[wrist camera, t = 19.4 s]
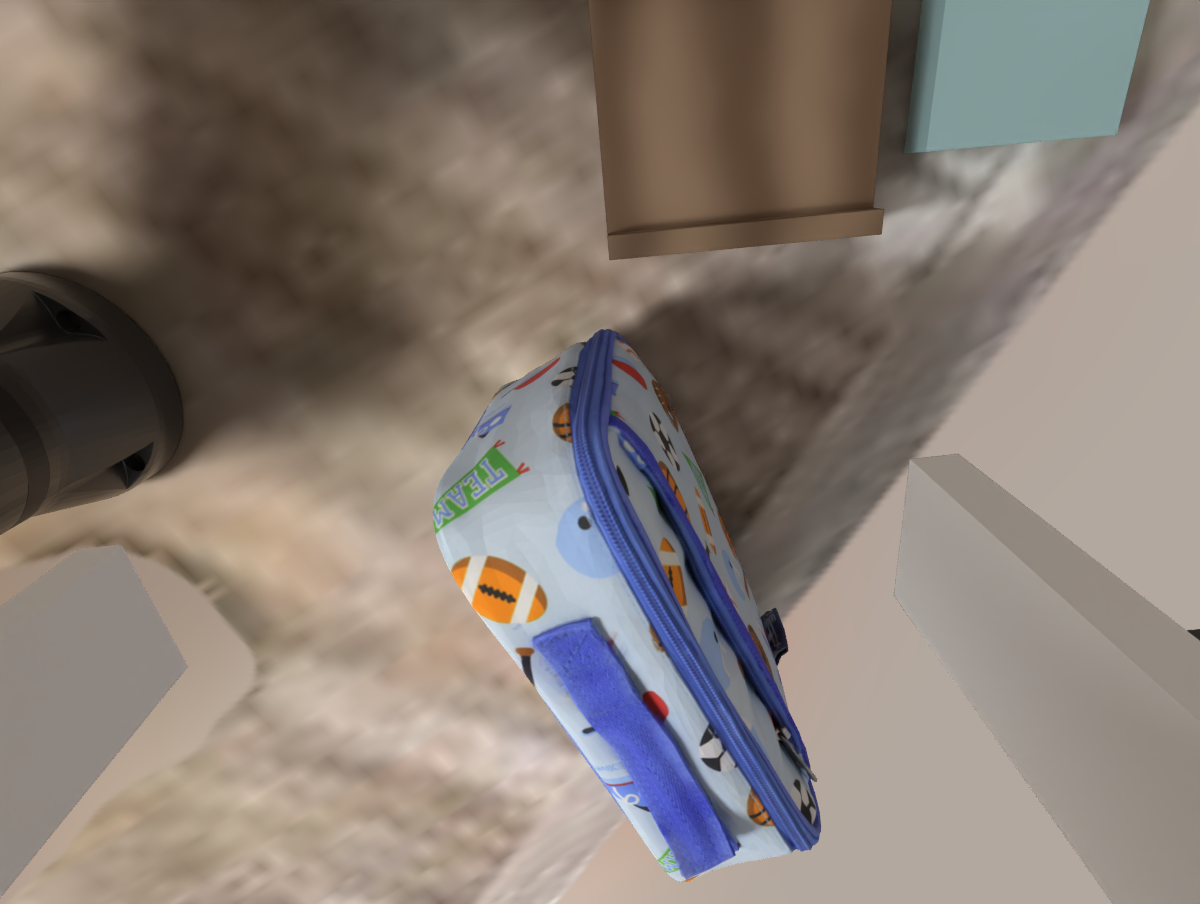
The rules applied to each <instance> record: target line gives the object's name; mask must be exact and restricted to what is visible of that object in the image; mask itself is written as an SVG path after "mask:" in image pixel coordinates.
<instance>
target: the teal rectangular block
mask: <svg viewBox="0 0 1200 904" xmlns="http://www.w3.org/2000/svg"><path fill="white" fill-rule="evenodd" d="M1149 2H1150V0H922V5H921V14H920V22H919V31H918V39H917V48H916V56H915V65H914V73H913V82H912V90H911V99H910V107H909V116H908V124H907V133H906V141H905V150H904V153H918V152H930V151H942V150H953V149H964V148H975V147H986V146H997V145H1008V144H1019V143H1030V142H1042V141H1053V140H1064V139H1075V138H1086V137H1097V136H1108V135H1117V131H1118V127H1119V123H1120V119H1121V115H1122V111H1123V107H1124V103H1125V99H1126V95H1127V91H1128V87H1129V83H1130V79H1131V75H1132V71H1133V67H1134V63H1135V59H1136V55H1137V51H1138V47H1139V43H1140V38H1141V34H1142V30H1143V26H1144V22H1145V18H1146V14H1147V10H1148V6H1149Z"/></svg>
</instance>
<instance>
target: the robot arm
mask: <svg viewBox="0 0 1200 904" xmlns="http://www.w3.org/2000/svg"><path fill="white" fill-rule="evenodd" d="M181 430H182V407H181V401H180V396H179V392H178V389H177V386H176V383H175V380H174V378H173V376H172V373H171V371H170V369H169V367H168V365H167V364H166V362H165V360H164V358H163V357H162V355H161V354H160V352H159V351H158V349H157V348H156V346H155V345H154V344H153V343H152V341H151V340H150V339H149V338H148V336H147V335H146V334H145V333H144V332H143V331H142V330H141V329H140V328H139V327H138V326H137V325H136V324H135V323H134V322H133V321H132V320H131V319H130V318H129V317H128V316H127V315H125V314H124V313H123V312H122V311H121V310H119V309H118V308H117V307H115V306H114V305H113V304H111V303H110V302H108V301H107V300H105V299H104V298H102V297H101V296H99V295H97V294H95V293H94V292H92V291H90V290H88V289H86V288H84V287H82V286H79V285H77V284H75V283H72V282H70V281H67V280H64V279H61V278H58V277H54V276H50V275H46V274H40V273H33V272H7V273H0V535H2V534H3V533H5V532H6V531H8V530H10V529H11V528H13V527H15V526H16V525H18V524H20V523H21V522H23V521H25V520H27V519H28V518H30V517H33V516H37V515H42V514H46V513H50V512H54V511H58V510H63V509H67V508H71V507H75V506H79V505H84V504H88V503H92V502H96V501H101V500H105V499H109V498H112V497H115V496H118V495H120V494H122V493H125V492H127V491H129V490H131V489H133V488H134V487H136V486H137V485H139V484H140V483H142V482H144V481H145V480H147V479H148V478H150V477H151V476H153V475H154V474H156V473H157V472H158V471H160V470H161V469H162V468H163V467H164V466H165V465H166V464H167V463H168V461H169V460H170V459H171V457H172V456H173V454H174V452H175V450H176V448H177V446H178V443H179V440H180V436H181ZM894 597H895V598H896V600H897V601H898V602H899V604H900V605H901V607H902V608H903V610H904V611H905V612H906V614H907V615H908V617H909V618H910V619H911V621H912V622H913V624H914V625H915V626H916V628H917V629H918V631H919V632H920V633H921V635H922V636H923V637H924V639H925V641H926V642H927V643H928V645H929V646H930V647H931V649H932V650H933V652H934V653H935V655H936V656H937V657H938V658H939V660H940V662H941V663H942V664H943V666H944V667H945V669H946V670H947V671H948V673H949V674H950V676H951V677H952V679H953V680H954V681H955V683H956V684H957V686H958V687H959V688H960V690H961V691H962V693H963V694H964V695H965V697H966V698H967V700H968V701H969V702H970V704H971V705H972V707H973V708H974V710H975V711H976V712H977V714H978V715H979V717H980V718H981V719H982V721H983V722H984V724H985V725H986V726H987V728H988V729H989V731H990V732H991V733H992V735H993V736H994V738H995V739H996V741H997V742H998V743H999V745H1000V746H1001V748H1002V749H1003V750H1004V752H1005V753H1006V755H1007V756H1008V757H1009V759H1010V760H1011V762H1012V763H1013V764H1014V766H1015V767H1016V769H1017V770H1018V772H1019V773H1020V774H1021V776H1022V777H1023V779H1024V780H1025V781H1026V783H1027V784H1028V785H1029V787H1030V788H1031V790H1032V791H1033V793H1034V794H1035V795H1036V797H1037V798H1038V800H1039V801H1040V802H1041V804H1042V805H1043V807H1044V808H1045V810H1046V811H1047V812H1048V814H1049V815H1050V816H1051V818H1052V819H1053V821H1054V822H1055V824H1056V825H1057V826H1058V828H1059V829H1060V830H1061V832H1062V834H1063V835H1064V836H1065V838H1066V839H1067V841H1068V842H1069V843H1070V845H1071V846H1072V847H1073V849H1074V850H1075V852H1076V853H1077V855H1078V856H1079V857H1080V859H1081V860H1082V862H1083V863H1084V864H1085V866H1086V867H1087V869H1088V870H1089V871H1090V873H1091V874H1092V876H1093V877H1094V879H1095V880H1096V881H1097V883H1098V884H1099V886H1100V887H1101V888H1102V890H1103V891H1104V892H1105V894H1106V895H1107V897H1108V898H1109V900H1110V901H1111V903H1112V904H1200V629H1197V630H1185V629H1184V628H1183V627H1181V626H1180V625H1179V624H1177V623H1176V622H1175V621H1174V620H1172V619H1171V618H1170V617H1168V616H1167V615H1166V614H1164V613H1163V612H1162V611H1161V610H1159V609H1158V608H1157V607H1155V606H1154V605H1153V604H1152V603H1150V602H1149V601H1147V600H1146V599H1145V598H1144V597H1143V596H1141V595H1140V594H1139V593H1137V592H1136V591H1135V590H1133V589H1132V588H1131V587H1130V586H1128V585H1127V584H1126V583H1124V582H1123V581H1122V580H1121V579H1119V578H1118V577H1117V576H1115V575H1114V574H1113V573H1112V572H1110V571H1109V570H1108V569H1106V568H1105V567H1104V566H1102V565H1101V564H1100V563H1099V562H1097V561H1096V560H1095V559H1093V558H1092V557H1091V556H1090V555H1088V554H1087V553H1086V552H1084V551H1083V550H1082V549H1081V548H1079V547H1078V546H1077V545H1075V544H1074V543H1073V542H1072V541H1070V540H1069V539H1068V538H1066V537H1065V536H1064V535H1062V534H1061V533H1060V532H1059V531H1057V530H1056V529H1055V528H1053V527H1052V526H1051V525H1050V524H1048V523H1047V522H1046V521H1044V520H1043V519H1042V518H1041V517H1039V516H1038V515H1037V514H1035V513H1034V512H1033V511H1031V510H1030V509H1029V508H1028V507H1026V506H1025V505H1024V504H1022V503H1021V502H1020V501H1018V500H1017V499H1016V498H1014V497H1013V496H1012V495H1011V494H1009V493H1008V492H1007V491H1006V490H1004V489H1003V488H1002V487H1001V486H999V485H998V484H997V483H995V482H994V481H993V480H991V479H990V478H989V477H988V476H986V475H985V474H984V473H982V472H981V471H980V470H979V469H977V468H976V467H975V466H973V465H972V464H971V463H969V462H968V461H967V460H966V459H964V458H963V457H962V456H960V455H959V454H953V455H943V456H934V457H925V458H915V459H910V462H909V470H908V479H907V488H906V496H905V505H904V514H903V522H902V531H901V539H900V547H899V556H898V565H897V574H896V583H895V590H894ZM187 667H188V666H187V664H186V662H185V660H184V658H183V656H182V655H181V653H180V651H179V649H178V647H177V645H176V644H175V642H174V640H173V638H172V636H171V634H170V633H169V631H168V629H167V627H166V625H165V624H164V622H163V620H162V618H161V616H160V615H159V613H158V611H157V609H156V607H155V605H154V603H153V602H152V600H151V598H150V596H149V594H148V593H147V591H146V589H145V587H144V585H143V583H142V582H141V580H140V578H139V576H138V574H137V572H136V571H135V569H134V567H133V565H132V563H131V562H130V560H129V558H128V556H127V554H126V552H125V550H124V549H123V547H122V545H114V546H105V547H95V548H86V549H78V550H76V551H75V552H74V553H72V554H71V555H69V556H68V557H67V558H65V559H64V560H63V561H61V562H60V563H59V564H57V565H56V566H55V567H53V568H52V569H51V570H49V571H48V572H46V573H45V574H44V575H43V576H41V577H40V578H38V579H37V580H36V581H34V582H33V583H32V584H30V585H29V586H28V587H26V588H25V589H24V590H22V591H21V592H20V593H18V594H17V595H16V596H14V597H13V598H11V599H10V600H9V601H7V602H6V603H5V604H3V605H2V606H1V607H0V898H1V897H2V895H3V894H4V893H5V892H6V891H7V889H8V888H9V887H10V885H11V884H12V883H13V882H14V880H15V879H16V878H17V877H18V876H19V875H20V873H21V872H22V871H23V870H24V868H25V867H26V866H27V865H28V863H29V862H30V861H31V860H32V858H33V857H34V856H35V855H36V853H37V852H38V851H39V850H40V849H41V847H42V846H43V845H44V843H45V842H46V841H47V840H48V839H49V838H50V836H51V835H52V834H53V832H54V831H55V830H56V829H57V828H58V826H59V825H60V824H61V823H62V821H63V820H64V819H65V818H66V817H67V815H68V814H69V813H70V811H71V810H72V809H73V808H74V807H75V805H76V804H77V803H78V802H79V800H80V799H81V798H82V796H84V794H85V793H86V792H87V791H88V789H89V788H90V787H91V785H92V784H93V783H94V782H95V781H96V780H97V778H98V777H99V776H100V775H101V773H102V772H103V771H104V770H105V768H106V767H107V766H108V765H109V764H110V762H111V761H112V760H113V759H114V757H115V756H116V755H117V753H118V752H119V751H120V750H121V749H122V748H123V746H124V745H125V744H126V743H127V741H128V740H129V739H130V738H131V736H132V735H133V734H134V733H135V731H136V730H137V729H138V728H139V727H140V725H141V724H142V723H143V722H144V720H145V719H146V718H147V717H148V715H149V714H150V713H151V712H152V710H153V709H154V708H155V707H156V706H157V704H158V703H159V702H160V701H161V699H162V698H163V697H164V696H165V694H166V693H167V692H168V691H169V690H170V688H171V687H172V686H173V685H174V683H175V682H176V681H177V680H178V678H179V677H180V676H181V675H182V674H183V672H184V671H185V670H186V669H187Z"/></svg>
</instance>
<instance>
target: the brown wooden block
mask: <svg viewBox="0 0 1200 904" xmlns="http://www.w3.org/2000/svg"><path fill="white" fill-rule="evenodd" d="M588 4H589V16H590V28H591V40H592V52H593V64H594V76H595V88H596V100H597V112H598V124H599V136H600V149H601V161H602V173H603V185H604V197H605V209H606V221H607V233H608V235H607V237H608V249H609V260H617V259H627V258H638V257H648V256H659V255H669V254H680V253H691V252H701V251H712V250H722V249H733V248H743V247H754V246H764V245H775V244H785V243H796V242H807V241H817V240H828V239H838V238H849V237H859V236H870V235H880V234H882V226H883V216H884V209H878V208H873V204H874V193H875V182H876V171H877V160H878V149H879V138H880V127H881V116H882V105H883V95H884V84H885V73H886V62H887V51H888V40H889V29H890V18H891V7H892V0H588Z"/></svg>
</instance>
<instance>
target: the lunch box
mask: <svg viewBox="0 0 1200 904" xmlns="http://www.w3.org/2000/svg"><path fill="white" fill-rule="evenodd" d="M433 522H434V527H435V532H436V537H437V541H438V544H439V547H440V549H441V552H442V555H443V557H444V560H445V562H446V564H447V566H448V568H449V570H450V572H451V573H452V575H453V577H454V579H455V580H456V582H457V583H458V585H459V587H460V588H461V590H462V591H463V593H464V594H465V596H466V597H467V599H468V600H469V602H470V603H471V605H472V606H473V608H474V609H475V611H476V612H477V613H478V615H479V616H480V617H481V618H482V620H483V621H484V622H485V624H486V625H487V626H488V628H489V629H490V630H491V632H492V633H493V634H494V635H495V637H496V638H497V639H498V640H499V642H500V643H501V644H502V646H503V647H504V648H505V649H506V651H507V652H508V653H509V654H510V656H511V657H512V658H513V659H514V661H515V662H516V663H517V665H518V666H519V667H520V668H521V670H522V671H523V672H524V673H525V675H526V676H527V677H528V679H529V680H530V682H531V683H532V684H533V686H534V687H535V689H536V690H537V691H538V693H539V694H540V696H541V697H542V699H543V700H544V701H545V703H546V704H547V706H548V707H549V709H550V710H551V711H552V713H553V714H554V716H555V717H556V718H557V720H558V721H559V723H560V724H561V725H562V727H563V728H564V730H565V731H566V733H567V734H568V735H569V737H570V738H571V740H572V741H573V742H574V744H575V745H576V747H577V748H578V750H579V751H580V752H581V754H582V755H583V756H584V758H585V759H586V761H587V762H588V764H589V765H590V766H591V768H592V769H593V771H594V772H595V773H596V775H597V776H598V778H599V779H600V780H601V782H602V783H603V785H604V786H605V787H606V789H607V790H608V791H609V793H610V794H611V796H612V797H613V798H614V800H615V801H616V803H617V804H618V805H619V807H620V808H621V810H622V811H623V813H624V814H625V815H626V817H627V818H628V819H629V821H630V822H631V823H632V825H633V826H634V827H635V829H636V830H637V832H638V833H639V835H640V836H641V838H642V839H643V841H644V842H645V844H646V845H647V847H648V848H649V849H650V851H651V852H652V854H653V855H654V856H655V858H656V859H657V861H658V862H659V863H660V865H661V866H662V868H663V869H664V870H665V871H666V872H667V873H668V874H669V876H671V877H673V879H675V880H677V881H680V882H688V881H691V880H693V879H696V878H698V877H700V876H702V875H703V874H706V873H707V872H710V871H713V870H716V869H719V868H722V867H726V866H729V865H734V864H739V863H743V862H748V861H754V860H760V859H764V858H768V857H776V856H783V855H786V854H790V853H792V852H793V851H794V850H795V849H798V850H800V851H804V850H811V848H812V846H813V845H815V844H816V843H817V842H818V840H819V835H820V832H821V822H820V812H819V808H818V803H817V800H816V795H815V792H814V789H813V786H812V783H811V780H810V779H812V780H813V781H815V782H817V778H816V777H815V775H814V774H813V773H812V772H811V770H810V764H809V759H808V755H807V751H806V748H805V746H804V744H803V742H802V739H801V736H800V733H799V731H798V729H797V727H796V725H795V723H794V721H793V719H792V717H791V715H790V713H789V711H788V706H787V702H786V698H785V695H784V690H783V686H782V682H781V678H780V675H779V671H778V668H777V665H778V663H779V660H780V658H781V656H782V655H784V654H785V653H787V652H788V644H787V639H786V635H785V630H784V627H783V625H782V622H781V620H780V617H779V615H778V612H777V609H776V608H774V609H772V611H767V612H766V613H765V614H764V615H763V616H762V617H760V614H759V611H758V608H757V605H756V602H755V599H754V597H753V594H752V591H751V589H750V586H749V584H748V582H747V579H746V577H745V574H744V572H743V570H742V567H741V565H740V563H739V560H738V558H737V556H736V553H735V551H734V548H733V546H732V543H731V541H730V538H729V536H728V533H727V531H726V528H725V526H724V524H723V521H722V519H721V516H720V514H719V512H718V509H717V507H716V505H715V502H714V500H713V498H712V495H711V493H710V490H709V488H708V486H707V483H706V481H705V478H704V476H703V474H702V472H701V470H700V468H699V466H698V464H697V462H696V460H695V457H694V455H693V453H692V451H691V449H690V446H689V444H688V442H687V440H686V437H685V435H684V433H683V431H682V429H681V427H680V425H679V422H678V420H677V418H676V416H675V414H674V412H673V410H672V408H671V405H670V403H669V401H668V399H667V397H666V396H665V394H664V392H663V391H662V389H661V387H660V385H659V384H658V383H657V381H656V380H655V378H654V377H653V376H652V374H651V373H650V372H649V370H648V369H647V368H646V367H645V365H644V364H643V362H642V361H641V360H640V358H639V357H638V355H637V354H636V353H635V351H634V350H633V349H632V348H631V347H630V345H629V344H628V343H627V342H626V341H625V340H624V339H623V338H622V337H621V336H620V335H619V334H618V333H617V332H615V331H611V330H610V329H606V330H603V329H601V330H599V331H598V332H596V333H595V334H594V336H593V337H592V338H590V339H589V340H588V341H587V342H580V343H576V344H574V345H572V346H571V347H570V348H568V349H567V350H565V351H564V352H563V353H562V354H560V355H559V356H557V357H555V358H554V359H552V360H550V361H549V362H547V363H545V364H544V365H542V366H540V367H538V368H536V369H534V370H533V371H531V372H529V373H528V374H527V375H526V376H524V377H523V378H521V379H519V380H516V381H513V382H510V383H508V384H506V385H504V386H502V387H501V388H500V389H499V390H498V391H497V393H496V394H495V395H494V397H493V399H492V401H491V402H490V404H489V406H488V407H487V409H486V410H485V412H484V414H483V415H482V417H481V419H480V421H479V422H478V424H477V426H476V427H475V429H474V431H473V432H472V434H471V436H470V437H469V439H468V440H467V442H466V444H465V445H464V447H463V448H462V450H461V452H460V453H459V454H458V456H457V457H456V458H455V460H454V461H453V462H452V464H451V465H450V466H449V468H448V469H447V470H446V472H445V474H444V475H443V477H442V478H441V480H440V482H439V484H438V487H437V490H436V493H435V498H434V504H433Z"/></svg>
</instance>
